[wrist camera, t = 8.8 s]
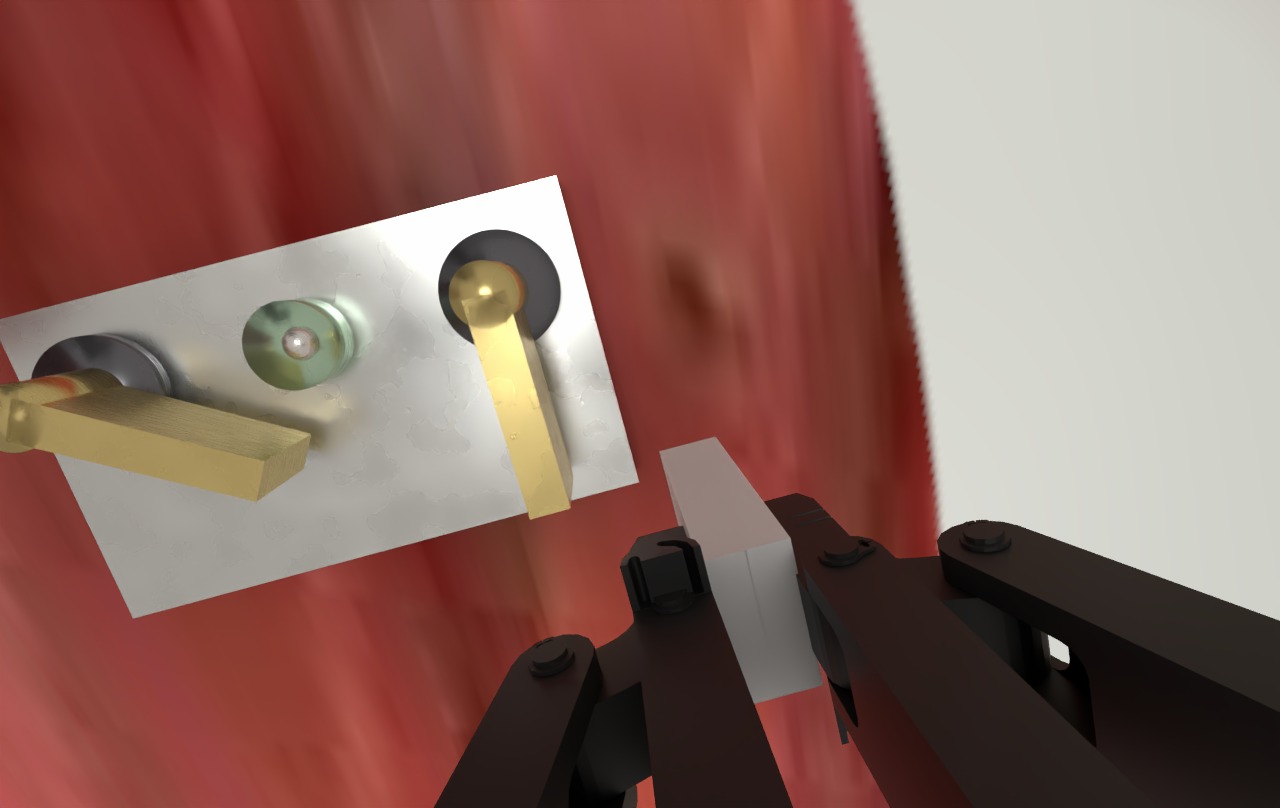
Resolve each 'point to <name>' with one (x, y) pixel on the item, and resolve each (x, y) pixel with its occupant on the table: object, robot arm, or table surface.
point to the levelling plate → (334, 399)
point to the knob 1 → (141, 422)
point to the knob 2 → (512, 351)
